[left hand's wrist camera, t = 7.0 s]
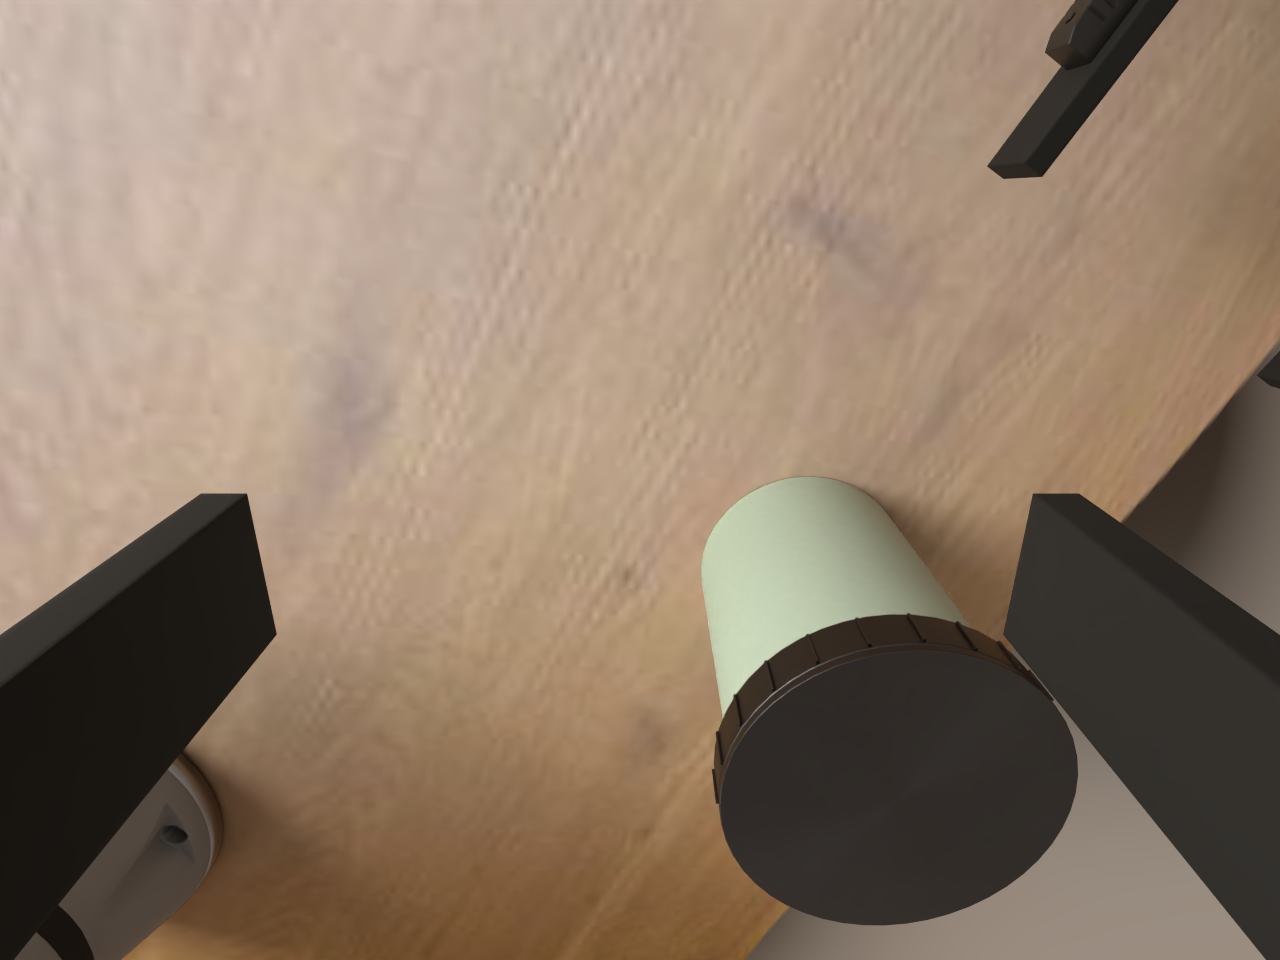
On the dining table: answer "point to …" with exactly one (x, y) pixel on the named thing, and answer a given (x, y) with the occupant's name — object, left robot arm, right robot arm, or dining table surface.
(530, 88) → the dining table surface
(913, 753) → the lid
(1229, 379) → the dining table surface
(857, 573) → the jar
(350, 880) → the dining table surface
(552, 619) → the dining table surface
